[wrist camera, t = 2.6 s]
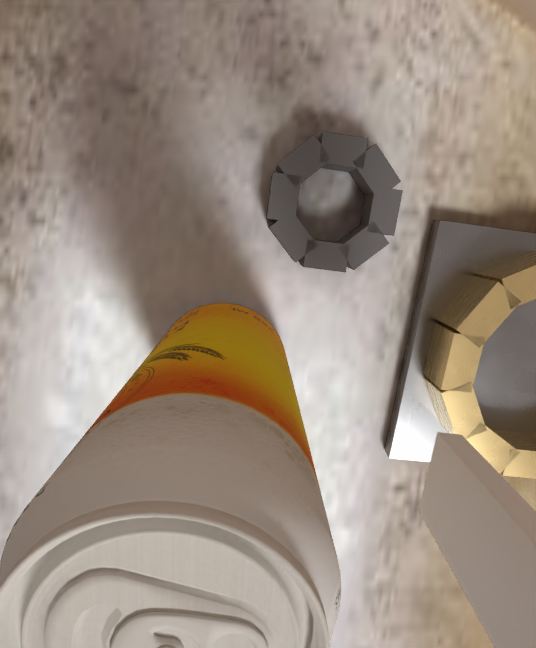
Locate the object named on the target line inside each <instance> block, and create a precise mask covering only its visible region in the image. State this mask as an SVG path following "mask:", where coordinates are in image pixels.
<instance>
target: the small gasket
mask: <svg viewBox="0 0 536 648" xmlns="http://www.w3.org/2000/svg"><path fill="white" fill-rule="evenodd" d="M367 143H368V138H363V137H356V136H350V135H343V134H336V133H330V132H323V133H322V134H321V135H320V137H319V138H318V139H317V137H316V136H315V134H314V135H313V136H311V137H310V138H309V139H308V140H306V141H305V142H304V143H303V144H301V145H300V146H299V147H298V148H296V149H295V150H294V151H293V152H292V153H290V154H289V155H288V156H287V157H285V158H284V159H283V160H282V161H280V162H279V163H278V164H277V167H276V169H277V171H278V172H279V173H275V172H273V174H272V177H271V185H270V193H269V201H268V209H267V217H266V219H270V220H277V221H276V222H274V223H273V224H272V225H271V226H269V229H270V230H271V231H272V233H273V234H274V235H275V237H276V238H277V239H278V241H279V242H280V243H281V245H282V246H283V247H284V249H285V250H286V251H287V253H288V254H289V255H290V257H291V258H292V259H293V260H294V261H295V262H297V261H298V260H300V264H301V265H302V266H303V267H309V268H317V269H324V270H332V271H340V272H346V267H348V268H351V269H353V270H354V269H356V268H357V267H358V266H360V265H361V264H362V263H364V262H365V261H366V260H368V259H369V258H370V257H372V256H373V255H374V254H376V253H377V252H378V251H380V250H381V249H382V248H384V247H385V246H386V245H388V244H389V242H388V241H387V240H386V238H385V237H384V235H393V236H394V233H395V228H396V222H397V217H398V212H399V207H400V202H401V196H402V190H395V189H392V188H393V187H394V186H396V185H397V184H398V183H399V182H401V181H400V179H399V178H398V176H397V175H396V173H395V172H394V170H393V168H392V167H391V165H390V164H389V162H388V161H387V159H386V158H385V156H384V155H383V153H382V152H381V150H380V149H379V147H378V146H377V144H374V145H373V146H371V147H370V148H368V149H367ZM366 149H367V150H366ZM319 168H324V169H331V170H338V171H345V172H349V173H350V175H351V176H352V178H353V179H354V181H355V182H356V184H357V185H358V187H359V188H360V189H361V191H362V192H363V194H364V195H365V199H364V205H363V210H362V216H361V222H360V226H358V227H357V228H356V229H354V230H353V231H352V232H351V233H349V234H348V235H347V236H345V237H344V238H343V239H341V240H340V241H339V242H337V243H335V242H327V241H319V240H313V238H312V237H311V236H310V234H309V233H308V231H307V230H306V229H305V227H304V226H303V225H302V223H301V222H300V220H299V219H298V218H297V216H296V210H297V203H298V196H299V189H300V183H302V182H303V181H304V180H305V179H307V178H308V177H309V176H310V175H312V174H313V173H314V172H316V171H317V170H318V169H319Z"/></svg>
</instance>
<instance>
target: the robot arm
mask: <svg viewBox="0 0 536 648" xmlns="http://www.w3.org/2000/svg"><path fill="white" fill-rule="evenodd" d="M419 512H420V514H421V516H422V517H423V519H424V521H425V523H426V525H427V526H428V528H429V530H430V532H431V534H432V535H433V537H434V539H435V541H436V543H437V544H438V546H439V548H440V550H441V552H442V553H443V555H444V557H445V559H446V561H447V562H448V564H449V566H450V568H451V570H452V571H453V573H454V575H455V577H456V579H457V580H458V582H459V584H460V586H461V588H462V589H463V591H464V593H465V595H466V597H467V598H468V600H469V602H470V604H471V606H472V607H473V609H474V611H475V613H476V615H477V616H478V618H479V620H480V622H481V624H482V625H483V627H484V629H485V631H486V633H487V634H488V636H489V638H490V640H491V642H492V643H493V645H494V647H495V648H536V511H535V510H534V509H533V508H532V507H531V506H530V505H529V504H528V503H527V502H526V501H525V500H524V499H523V498H522V497H521V496H520V495H519V494H518V493H517V492H516V491H515V490H514V488H513V487H512V486H511V485H510V484H509V483H508V482H507V481H506V480H505V479H504V478H503V477H502V476H501V475H500V474H499V473H498V472H497V471H496V470H495V469H494V468H493V467H492V466H491V465H490V464H489V462H488V461H487V460H486V459H485V458H484V457H483V456H482V455H481V454H480V453H479V452H478V451H477V450H476V449H475V448H474V447H473V446H472V445H471V444H470V443H469V442H468V441H467V440H466V439H465V438H464V437H463V435H459V434H451V433H442V432H437V436H436V440H435V444H434V449H433V453H432V457H431V461H430V465H429V469H428V473H427V478H426V482H425V486H424V490H423V494H422V498H421V503H420V507H419Z"/></svg>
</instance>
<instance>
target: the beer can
mask: <svg viewBox="0 0 536 648" xmlns="http://www.w3.org/2000/svg"><path fill="white" fill-rule="evenodd" d="M340 598H341V578H340V570H339V565H338V559H337V555H336V551H335V547H334V543H333V539H332V535H331V531H330V527H329V523H328V520H327V516H326V512H325V508H324V504H323V500H322V496H321V492H320V488H319V484H318V480H317V476H316V472H315V468H314V464H313V460H312V456H311V452H310V448H309V444H308V441H307V437H306V433H305V429H304V425H303V421H302V417H301V413H300V409H299V405H298V401H297V397H296V393H295V389H294V385H293V381H292V377H291V373H290V369H289V366H288V362H287V358H286V354H285V350H284V347H283V344H282V341H281V339H280V337H279V335H278V333H277V332H276V330H275V329H274V328H273V326H272V325H271V324H270V323H269V322H268V321H267V320H266V319H265V318H263V317H262V316H261V315H259V314H258V313H256V312H255V311H253V310H251V309H248V308H246V307H243V306H240V305H236V304H230V303H214V304H208V305H204V306H201V307H198V308H196V309H193V310H192V311H190V312H188V313H186V314H185V315H184V316H182V317H181V318H180V319H179V320H178V321H176V323H175V324H174V325H173V326H172V327H171V328H170V330H169V331H168V332H167V333H166V335H165V336H164V337H163V338H162V339H161V341H160V342H159V343H158V344H157V346H156V347H155V348H154V349H153V351H152V352H151V353H150V354H149V356H148V357H147V358H146V359H145V361H144V362H143V363H142V364H141V366H140V367H139V368H138V369H137V370H136V372H135V373H134V374H133V375H132V377H131V378H130V379H129V380H128V382H127V383H126V384H125V385H124V387H123V388H122V389H121V390H120V392H119V393H118V394H117V395H116V396H115V398H114V399H113V400H112V401H111V403H110V404H109V405H108V406H107V408H106V409H105V410H104V411H103V413H102V414H101V415H100V416H99V418H98V419H97V420H96V421H95V422H94V424H93V425H92V426H91V427H90V429H89V430H88V431H87V432H86V434H85V435H84V436H83V437H82V439H81V440H80V441H79V442H78V444H77V445H76V446H75V447H74V449H73V450H72V451H71V452H70V453H69V455H68V456H67V457H66V458H65V460H64V461H63V462H62V463H61V465H60V466H59V467H58V468H57V470H56V471H55V472H54V473H53V475H52V476H51V477H50V478H49V479H48V481H47V482H46V483H45V484H44V486H43V487H42V488H41V489H40V491H39V492H38V493H37V494H36V496H35V497H34V498H33V499H32V501H31V502H30V503H29V504H28V506H27V507H26V508H25V509H24V511H23V512H22V514H21V515H20V517H19V518H18V520H17V521H16V523H15V524H14V526H13V528H12V531H11V533H10V535H9V537H8V539H7V541H6V545H5V548H4V551H3V554H2V558H1V564H0V648H330V641H331V637H332V634H333V631H334V627H335V624H336V620H337V616H338V612H339V607H340Z"/></svg>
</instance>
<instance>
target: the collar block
mask: <svg viewBox="0 0 536 648" xmlns="http://www.w3.org/2000/svg"><path fill="white" fill-rule="evenodd" d="M437 432H442V433H451V434H459V435H463V437H464V438H465V439H466V440H467V441H468V442H469V443H470V444H471V445H472V446H473V447H474V448H475V449H476V450H477V451H478V452H479V453H480V454H481V455H482V456H483V457H484V458H485V459H486V460H487V461H488V462H489V464H490V465H491V466H492V467H493V468H494V469H495V470H496V471H497V472H498V473H499V474H500V473H501V474H502V475H503V476H513V477H523V478H533V479H536V233H529V232H521V231H514V230H507V229H500V228H493V227H485V226H478V225H471V224H464V223H456V222H449V221H442V220H433V223H432V228H431V232H430V237H429V242H428V247H427V251H426V256H425V261H424V265H423V270H422V275H421V280H420V284H419V289H418V294H417V299H416V303H415V308H414V313H413V318H412V322H411V327H410V332H409V337H408V341H407V346H406V351H405V356H404V360H403V365H402V370H401V374H400V379H399V384H398V389H397V393H396V398H395V403H394V408H393V412H392V417H391V422H390V427H389V431H388V436H387V441H386V446H385V452H386V453H387V455H388V457H389V458H393V459H403V460H413V461H423V462H430V461H431V457H432V453H433V449H434V444H435V440H436V436H437Z"/></svg>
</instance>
